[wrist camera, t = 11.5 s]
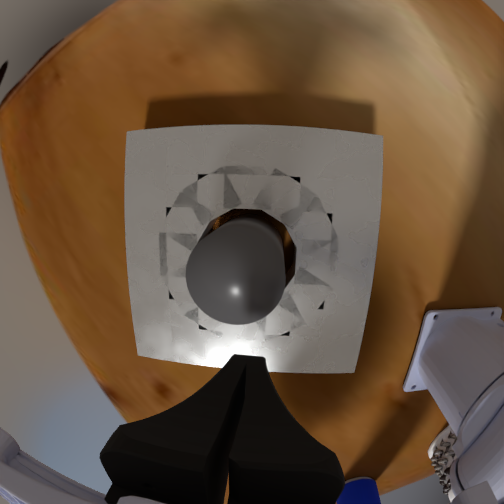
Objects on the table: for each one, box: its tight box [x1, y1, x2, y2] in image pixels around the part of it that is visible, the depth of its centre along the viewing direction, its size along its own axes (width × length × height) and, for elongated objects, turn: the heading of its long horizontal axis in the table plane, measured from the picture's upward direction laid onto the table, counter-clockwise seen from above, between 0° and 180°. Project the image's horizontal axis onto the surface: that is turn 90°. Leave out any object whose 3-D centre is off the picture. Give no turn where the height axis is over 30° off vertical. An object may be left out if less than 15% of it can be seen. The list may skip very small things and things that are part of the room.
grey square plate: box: [125, 125, 383, 373], centre depth 19 cm, size 16×16×2 cm
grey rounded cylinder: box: [186, 214, 286, 325], centre depth 17 cm, size 5×5×7 cm
